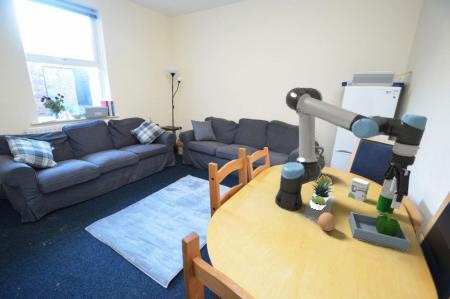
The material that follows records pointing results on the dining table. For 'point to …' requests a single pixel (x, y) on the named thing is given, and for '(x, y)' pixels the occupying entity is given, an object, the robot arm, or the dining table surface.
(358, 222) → the tray
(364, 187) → the ink box
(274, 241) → the dining table surface
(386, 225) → the bell pepper
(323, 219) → the egg
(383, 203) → the soda can
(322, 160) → the pot
